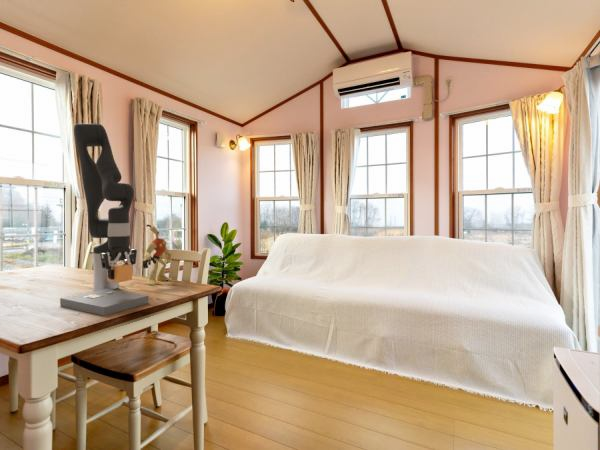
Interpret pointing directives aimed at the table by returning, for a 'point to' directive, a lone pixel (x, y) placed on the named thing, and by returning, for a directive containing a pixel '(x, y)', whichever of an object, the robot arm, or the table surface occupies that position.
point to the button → (94, 296)
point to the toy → (156, 258)
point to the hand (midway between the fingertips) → (119, 277)
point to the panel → (104, 301)
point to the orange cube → (121, 273)
